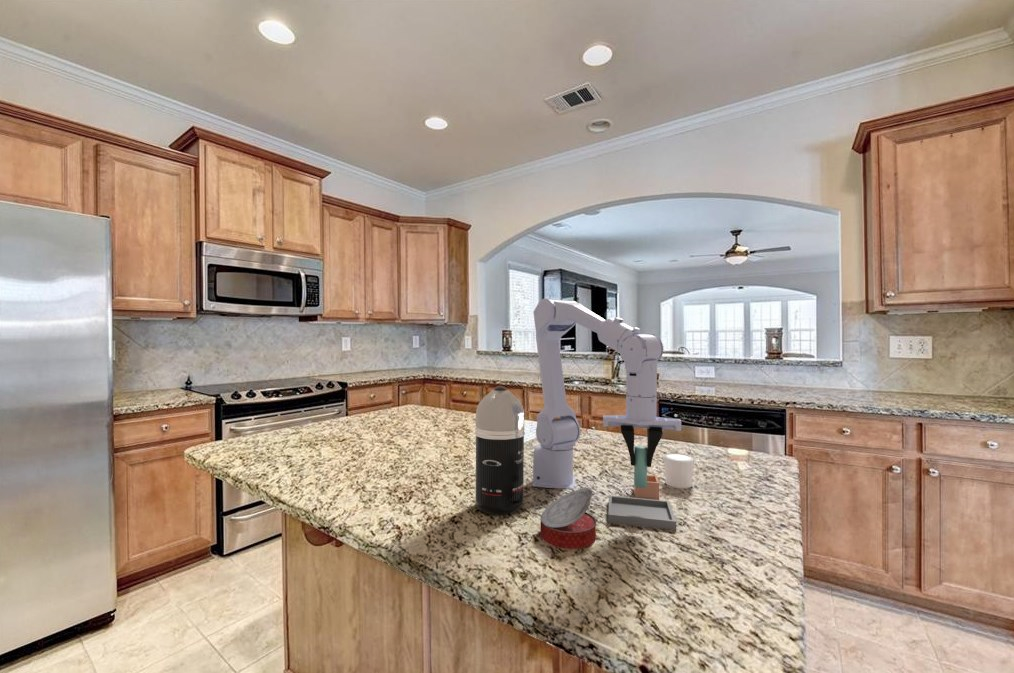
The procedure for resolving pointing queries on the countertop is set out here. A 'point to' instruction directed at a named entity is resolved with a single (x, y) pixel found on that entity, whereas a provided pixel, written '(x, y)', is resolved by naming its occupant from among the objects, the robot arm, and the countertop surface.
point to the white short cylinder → (678, 470)
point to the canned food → (569, 521)
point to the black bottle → (499, 453)
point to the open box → (648, 489)
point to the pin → (640, 467)
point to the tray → (641, 512)
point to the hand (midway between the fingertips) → (640, 464)
